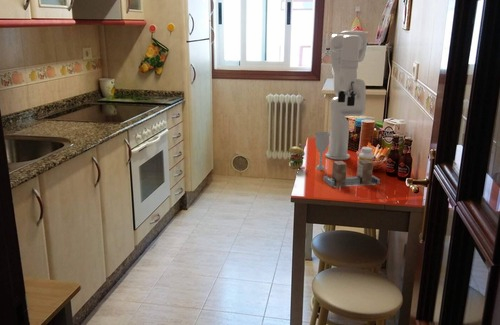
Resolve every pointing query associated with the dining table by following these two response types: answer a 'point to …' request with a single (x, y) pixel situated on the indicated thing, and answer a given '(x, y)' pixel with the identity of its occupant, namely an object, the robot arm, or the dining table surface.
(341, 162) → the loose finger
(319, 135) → the chalice
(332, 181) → the rail
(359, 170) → the mounted finger
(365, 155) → the supplement bottle
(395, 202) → the dining table surface
